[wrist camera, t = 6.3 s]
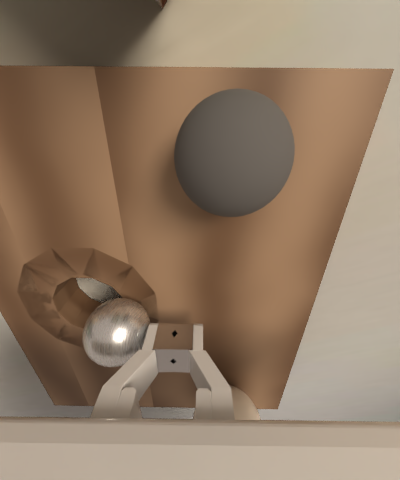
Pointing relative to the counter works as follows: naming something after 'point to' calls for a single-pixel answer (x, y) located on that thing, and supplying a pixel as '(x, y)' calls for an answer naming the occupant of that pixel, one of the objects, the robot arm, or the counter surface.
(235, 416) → the cream plastic ball
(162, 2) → the food container
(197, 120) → the gray rubber ball
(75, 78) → the board
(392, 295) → the counter surface
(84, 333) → the steel ball
